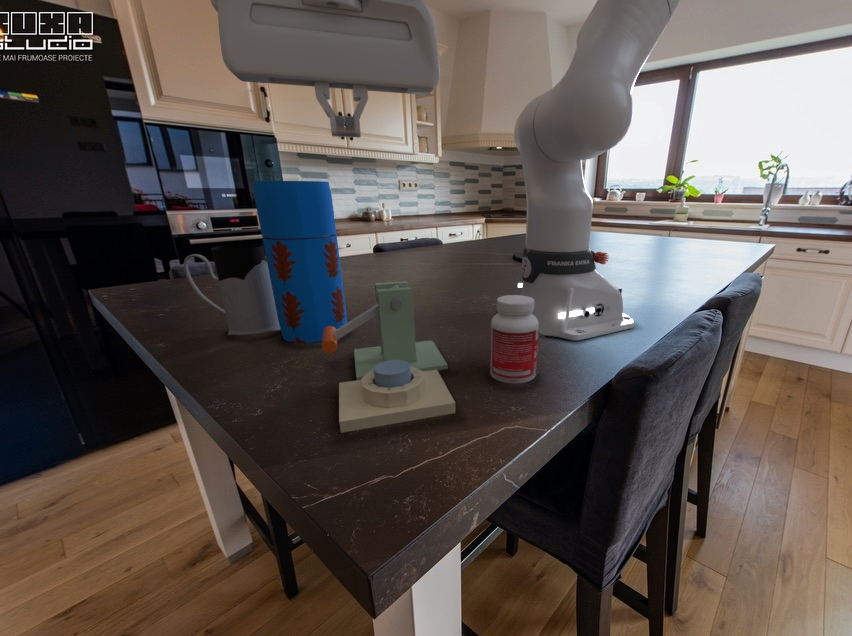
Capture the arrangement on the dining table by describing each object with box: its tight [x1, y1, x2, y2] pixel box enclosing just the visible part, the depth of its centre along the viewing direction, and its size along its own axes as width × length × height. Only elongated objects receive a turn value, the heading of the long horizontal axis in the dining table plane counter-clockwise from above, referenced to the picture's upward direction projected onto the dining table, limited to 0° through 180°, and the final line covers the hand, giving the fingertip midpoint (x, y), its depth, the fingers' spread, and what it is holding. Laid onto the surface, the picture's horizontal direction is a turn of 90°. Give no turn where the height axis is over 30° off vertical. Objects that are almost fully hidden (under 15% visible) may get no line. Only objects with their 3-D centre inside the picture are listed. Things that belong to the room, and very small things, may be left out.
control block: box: [338, 366, 456, 434], centre depth 45 cm, size 12×9×4 cm
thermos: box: [252, 180, 348, 344], centre depth 64 cm, size 11×11×25 cm
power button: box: [374, 360, 411, 388], centre depth 44 cm, size 4×4×2 cm
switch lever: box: [321, 285, 399, 354], centre depth 53 cm, size 12×6×2 cm, turn 108°
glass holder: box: [183, 243, 281, 336], centre depth 68 cm, size 9×14×15 cm, turn 89°
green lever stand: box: [353, 280, 449, 381], centre depth 55 cm, size 12×10×12 cm
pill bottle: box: [489, 294, 539, 384], centre depth 51 cm, size 6×6×11 cm
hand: (346, 136), depth 42 cm, fingers closed
